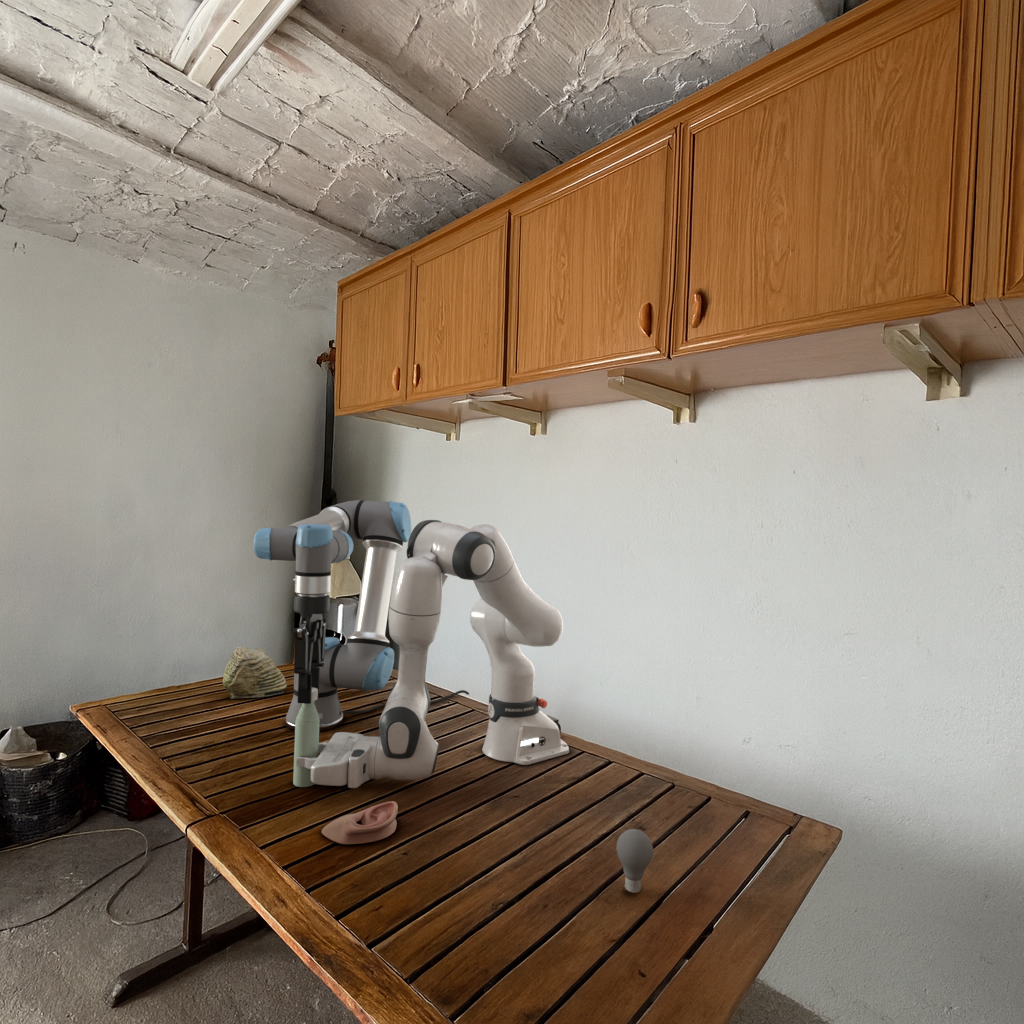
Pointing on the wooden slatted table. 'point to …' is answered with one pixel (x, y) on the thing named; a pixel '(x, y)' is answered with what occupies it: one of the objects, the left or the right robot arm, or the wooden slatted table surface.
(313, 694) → the cap
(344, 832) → the anatomical model
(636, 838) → the light bulb
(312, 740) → the bottle
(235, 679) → the fossil
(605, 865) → the wooden slatted table surface
